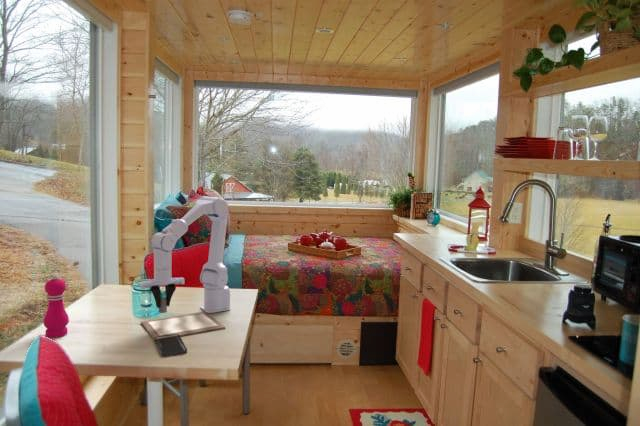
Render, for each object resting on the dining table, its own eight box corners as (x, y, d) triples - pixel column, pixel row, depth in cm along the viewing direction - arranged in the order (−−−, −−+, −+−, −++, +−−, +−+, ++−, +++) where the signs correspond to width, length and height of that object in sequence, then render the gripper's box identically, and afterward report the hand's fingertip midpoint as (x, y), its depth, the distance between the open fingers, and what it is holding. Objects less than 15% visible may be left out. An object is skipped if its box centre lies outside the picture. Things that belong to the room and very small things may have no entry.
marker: (165, 310, 170) (165, 290, 169) (167, 312, 168) (167, 292, 167) (157, 311, 169) (157, 291, 168) (159, 313, 166) (159, 293, 165)
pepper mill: (73, 333, 160) (72, 274, 157) (52, 340, 154) (50, 278, 151) (60, 328, 163) (59, 270, 161) (39, 335, 157) (37, 274, 155)
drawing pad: (206, 313, 185) (206, 311, 185) (225, 328, 170) (225, 326, 170) (140, 323, 171) (140, 321, 171) (155, 341, 156) (155, 338, 156)
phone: (178, 333, 162) (187, 350, 148) (178, 337, 162) (187, 354, 148) (153, 336, 158) (161, 354, 145) (153, 340, 158) (161, 358, 145)
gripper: (180, 263, 174) (179, 300, 175) (137, 267, 166) (138, 305, 167) (186, 267, 168) (186, 305, 170) (143, 272, 160) (143, 311, 162)
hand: (162, 306), depth 168 cm, fingers closed on marker, 3 cm apart
